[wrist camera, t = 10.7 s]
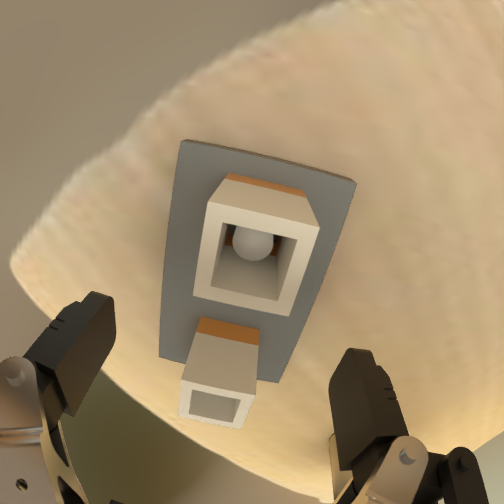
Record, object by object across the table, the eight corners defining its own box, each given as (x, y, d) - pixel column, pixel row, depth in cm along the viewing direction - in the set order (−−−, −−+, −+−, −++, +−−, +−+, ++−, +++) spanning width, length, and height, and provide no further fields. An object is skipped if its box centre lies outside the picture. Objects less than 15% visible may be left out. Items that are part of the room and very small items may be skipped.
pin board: (278, 372, 29) (278, 442, 21) (162, 346, 28) (136, 412, 20) (351, 179, 20) (397, 217, 12) (186, 139, 19) (136, 154, 12)
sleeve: (303, 190, 19) (319, 227, 13) (283, 256, 21) (288, 316, 15) (229, 172, 19) (208, 201, 13) (215, 240, 21) (192, 295, 15)
